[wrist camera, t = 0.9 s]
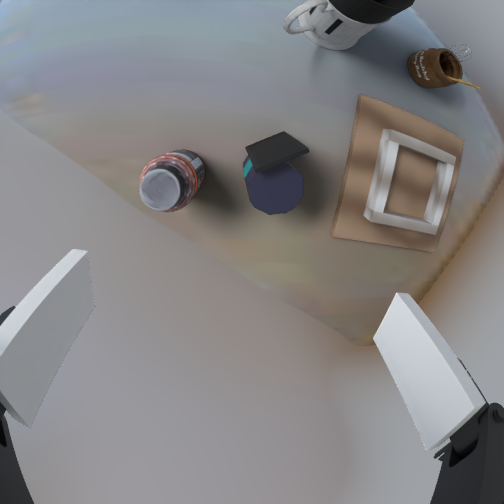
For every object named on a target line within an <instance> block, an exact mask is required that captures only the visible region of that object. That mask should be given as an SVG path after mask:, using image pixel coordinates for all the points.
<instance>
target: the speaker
mask: <svg viewBox="0 0 504 504" xmlns="http://www.w3.org/2000/svg"><path fill="white" fill-rule="evenodd" d="M245 148H246V150H247V153H248V156H247V157H246V159H245V161H244V162H243V173H244V177H245V182H246V186H247V190H248V195H249V199H250V202H251V203H252V204H253V206H254V207H255V208H257V209H259V210H261V211H263V212H265V213H267V214H268V215H272V214H280V213H287V212H288V211H290V210H292V209H293V208H294V207H295V205H296V204H297V203H298V201H299V200H300V198H301V197H302V195H303V178H302V176H301V175H300V173H299V171H298V170H297V169H296V168H295V167H294V165H293V164H292V163H291V162H290V161H289V160H290V159H293V158H295V157H298V156H300V155H303V154H306V153H308V152H309V149H308V148H307V147H306V146H305V145H303V144H302V143H300V142H299V141H297V140H296V139H295V138H293V137H292V136H290V135H289V134H287V133H286V132H281V133H278V134H276V135H273V136H271V137H268V138H266V139H264V140H261V141H259V142H256V143H254V144H252V145H249V146H247V147H245Z"/></svg>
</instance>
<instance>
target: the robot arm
mask: <svg viewBox="0 0 504 504" xmlns="http://www.w3.org/2000/svg"><path fill="white" fill-rule="evenodd" d="M95 307H96V306H95V299H94V293H93V287H92V281H91V273H90V265H89V257H88V252H87V251H83V250H77V249H73V250H71V251H70V252H69V253H68V254H67V255H66V256H65V257H64V258H63V259H62V260H61V261H60V262H59V263H57V265H55V266H54V268H52V269H51V270H50V271H49V272H48V273H47V274H46V275H45V276H44V277H43V278H42V279H41V280H40V282H39V283H38V284H37V285H36V286H35V287H34V288H33V289H32V290H31V291H30V292H29V293H28V294H27V295H26V297H25V298H24V299H23V300H22V301H21V302H20V303H19V304H18V306H17V307H15V306H13V307H11V308H9V309H8V310H6V311H5V312H3V313H2V314H1V315H0V504H34V502H33V500H32V498H31V495H30V493H29V491H28V489H27V486H26V483H25V481H24V478H23V475H22V473H21V470H20V467H19V464H18V461H17V458H16V455H15V451H14V448H13V445H12V440H11V437H10V433H9V429H8V424H7V421H6V418H5V416H4V413H5V411H6V410H7V411H8V413H9V414H10V415H11V416H12V417H13V418H14V419H15V420H17V421H18V422H20V423H22V424H23V425H26V426H27V427H29V428H31V427H32V424H33V422H34V420H35V417H36V415H37V413H38V411H39V408H40V406H41V404H42V402H43V400H44V398H45V396H46V393H47V392H48V389H49V387H50V385H51V383H52V382H53V380H54V378H55V376H56V374H57V372H58V370H59V368H60V366H61V364H62V362H63V361H64V359H65V357H66V355H67V353H68V351H69V350H70V348H71V346H72V344H73V343H74V341H75V339H76V338H77V336H78V334H79V333H80V331H81V329H82V328H83V326H84V324H85V323H86V321H87V320H88V318H89V316H90V315H91V313H92V312H93V310H94V308H95ZM373 339H374V341H375V343H376V345H377V347H378V349H379V351H380V353H381V355H382V357H383V359H384V361H385V362H386V364H387V367H388V369H389V370H390V373H391V375H392V377H393V379H394V381H395V383H396V385H397V387H398V389H399V391H400V393H401V396H402V398H403V400H404V402H405V404H406V406H407V408H408V411H409V413H410V415H411V417H412V420H413V422H414V424H415V426H416V429H417V431H418V434H419V436H420V438H421V441H422V443H423V446H424V448H425V450H426V451H428V450H430V449H433V448H435V447H438V446H440V445H441V444H442V443H443V442H445V441H446V440H447V439H448V438H450V440H451V442H450V443H448V444H447V445H446V446H445V447H443V448H442V449H441V450H440V451H438V452H437V453H436V454H435V456H434V458H437V457H438V456H440V455H441V454H442V453H444V452H445V453H444V454H443V455H442V456H441V457H440V458H439V460H440V461H443V462H442V466H441V470H440V474H439V477H438V481H437V484H436V487H435V491H434V494H433V497H432V500H431V503H430V504H504V408H503V407H502V406H501V405H500V404H498V403H491V404H490V405H489V404H488V403H487V401H486V399H485V398H484V396H483V395H482V393H481V391H480V389H479V388H478V386H477V385H476V383H475V382H474V380H473V378H471V375H470V374H469V372H468V371H466V368H465V366H464V365H463V363H462V362H461V361H460V360H459V359H458V358H457V357H456V355H455V354H454V352H453V351H452V350H451V348H450V347H449V346H448V344H447V343H446V341H445V340H444V338H443V337H442V336H441V334H440V333H439V332H438V330H437V329H436V328H435V326H434V325H433V324H432V322H431V321H430V320H429V319H428V317H427V316H426V315H425V313H424V312H423V311H422V310H421V308H420V307H419V306H418V305H417V303H416V302H415V301H414V300H413V298H412V297H411V296H410V295H409V294H408V293H397V292H396V294H395V297H394V299H393V301H392V303H391V305H390V307H389V309H388V311H387V313H386V315H385V317H384V319H383V321H382V323H381V324H380V326H379V328H378V330H377V332H376V334H375V336H374V337H373Z"/></svg>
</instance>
